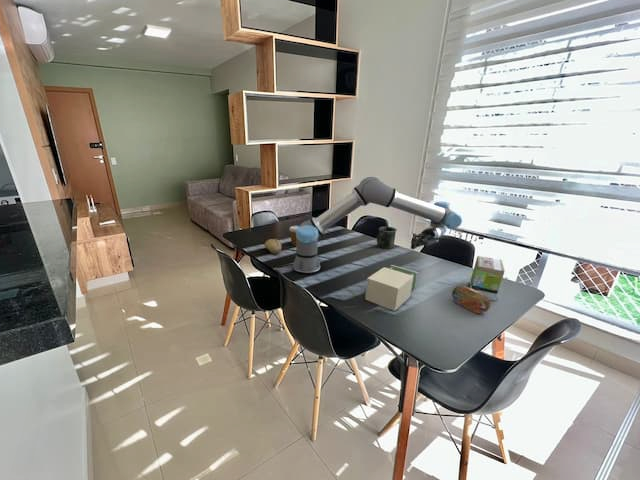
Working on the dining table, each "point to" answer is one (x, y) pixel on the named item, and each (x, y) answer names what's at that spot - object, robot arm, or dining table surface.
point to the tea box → (487, 276)
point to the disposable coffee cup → (293, 234)
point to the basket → (406, 273)
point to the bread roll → (273, 246)
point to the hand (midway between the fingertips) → (412, 246)
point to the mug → (386, 237)
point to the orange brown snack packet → (471, 299)
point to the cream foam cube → (388, 288)
